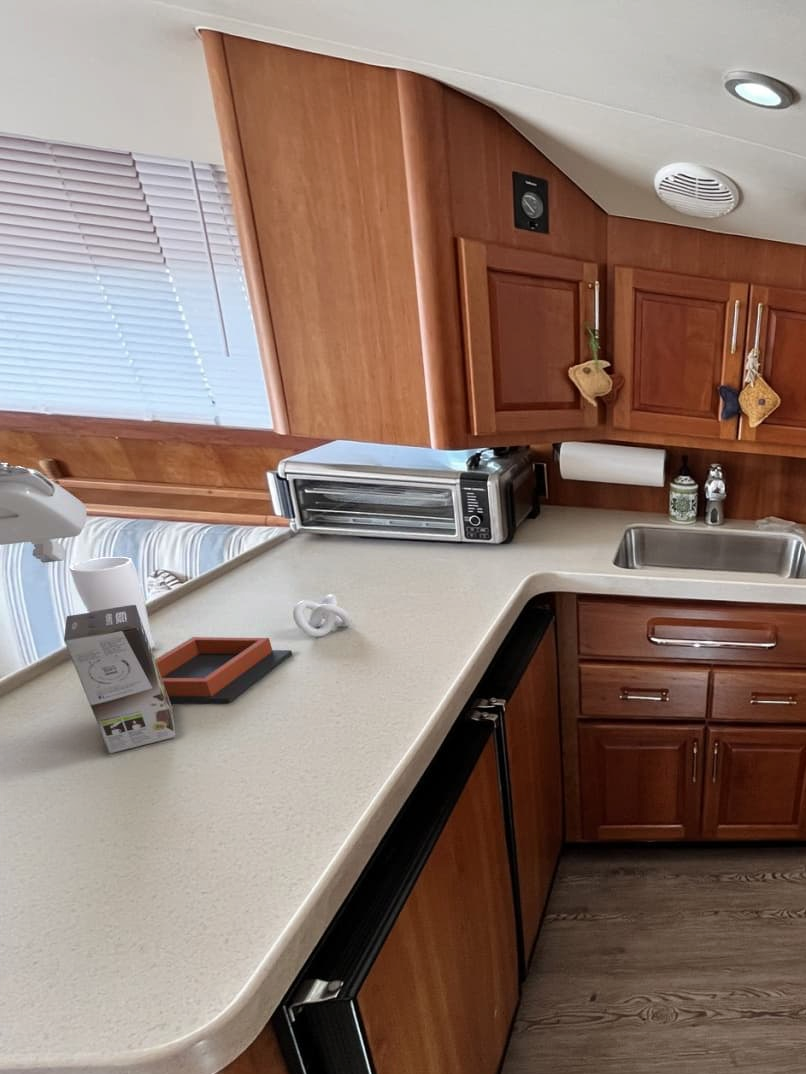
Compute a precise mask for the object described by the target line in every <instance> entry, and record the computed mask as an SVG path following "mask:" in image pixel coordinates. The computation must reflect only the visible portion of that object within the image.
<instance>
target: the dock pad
mask: <svg viewBox="0 0 806 1074" xmlns="http://www.w3.org/2000/svg"><path fill="white" fill-rule="evenodd" d="M291 656H293V651H292V650H291V649H288V650H287V649H286V650H285V649H273V648H272V644H271V640H270V637H223V636H222V637H221V636H219V637H215V636H214V637H209V636H192V637H190V638H189V639H187V640H185V641H183V642H182V643H181V644H179V645H177V646H175V647H173V648H172V649H170V650H169V651H166V652H165V653H163V654H162V655H160V656H159V657H157V658H155V661H156V663H157V666H158V669H159V672H160V675H161V677H162V680H163V683H164V686H165V689H166V691H167V694H168V697H169V700H170V703H171V704H231V703H232V702H233V701H235V700H236V699H237V698H238V697H240V696H241V695H242V694H244V693H245V692H246V691H248V690H249V689H250V688H252V687H253V686H254V685H255V684H257V682H260V680H262V679H263V678H264V677H265V676H267V675H268V674H270V673H271V672H272V671H273V670H275V669H276V668H277V667H279V666H280V665H281V664H282V663H284V662H285V661H286V660H288V659H289V658H290V657H291Z"/></svg>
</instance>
